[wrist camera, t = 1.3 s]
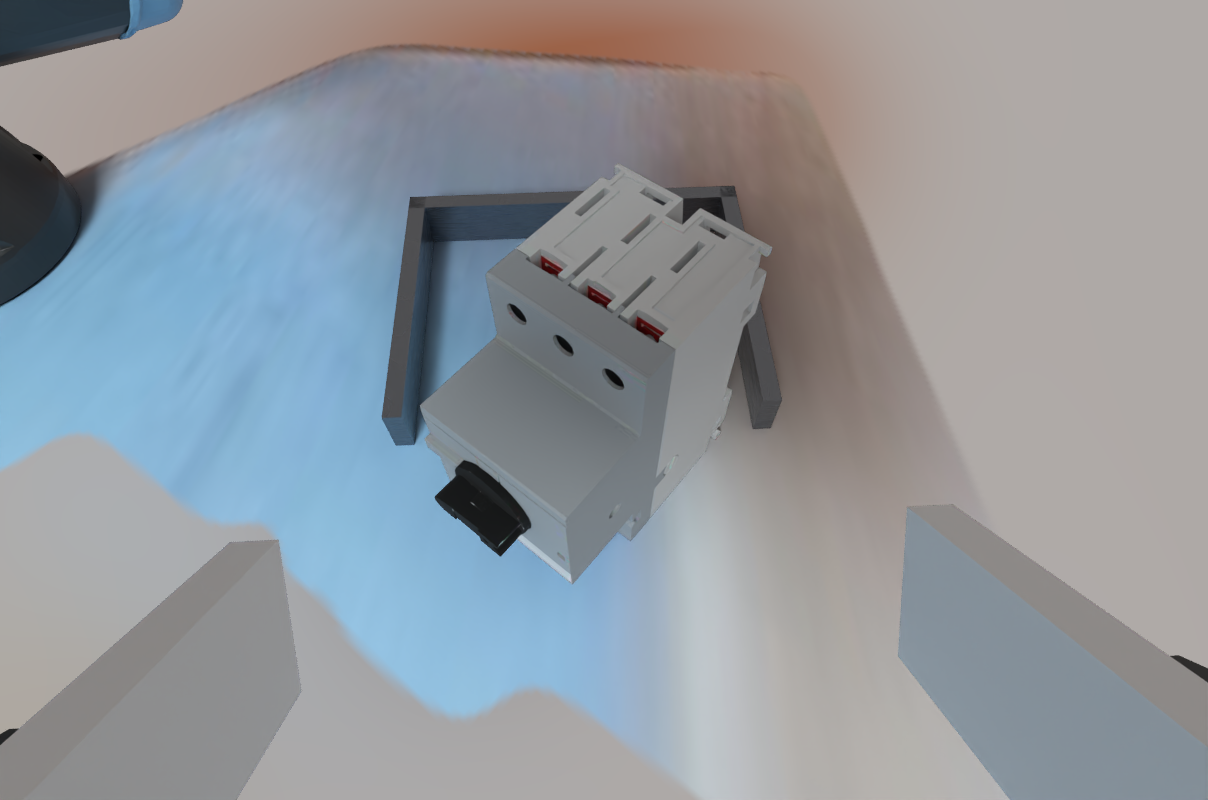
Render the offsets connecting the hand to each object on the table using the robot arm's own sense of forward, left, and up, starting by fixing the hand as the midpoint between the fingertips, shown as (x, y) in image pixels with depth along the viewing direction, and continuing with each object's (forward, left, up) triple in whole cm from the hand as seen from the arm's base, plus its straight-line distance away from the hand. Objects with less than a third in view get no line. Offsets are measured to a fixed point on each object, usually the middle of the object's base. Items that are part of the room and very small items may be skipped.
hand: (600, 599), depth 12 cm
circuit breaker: (-13, 0, -23) cm, 27 cm away
